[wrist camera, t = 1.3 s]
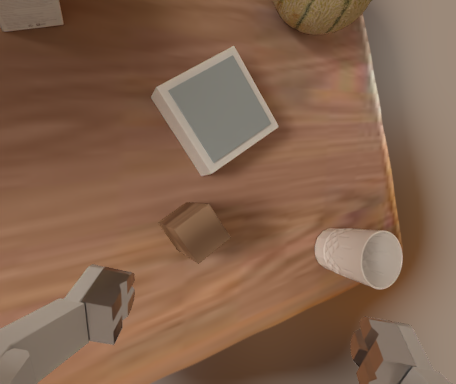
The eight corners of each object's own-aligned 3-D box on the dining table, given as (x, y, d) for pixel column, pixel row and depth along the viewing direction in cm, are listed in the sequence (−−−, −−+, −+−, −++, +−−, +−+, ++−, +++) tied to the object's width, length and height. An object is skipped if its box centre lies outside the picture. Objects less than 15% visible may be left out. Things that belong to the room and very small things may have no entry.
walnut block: (158, 222, 39) (174, 229, 31) (186, 202, 40) (208, 203, 32) (177, 250, 40) (198, 264, 31) (204, 229, 41) (231, 237, 33)
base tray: (150, 97, 39) (156, 86, 35) (222, 58, 43) (234, 44, 39) (201, 176, 41) (212, 173, 37) (264, 132, 45) (280, 126, 41)
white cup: (355, 240, 52) (410, 249, 43) (335, 281, 50) (388, 299, 41) (325, 215, 50) (377, 219, 40) (303, 256, 48) (352, 270, 38)
